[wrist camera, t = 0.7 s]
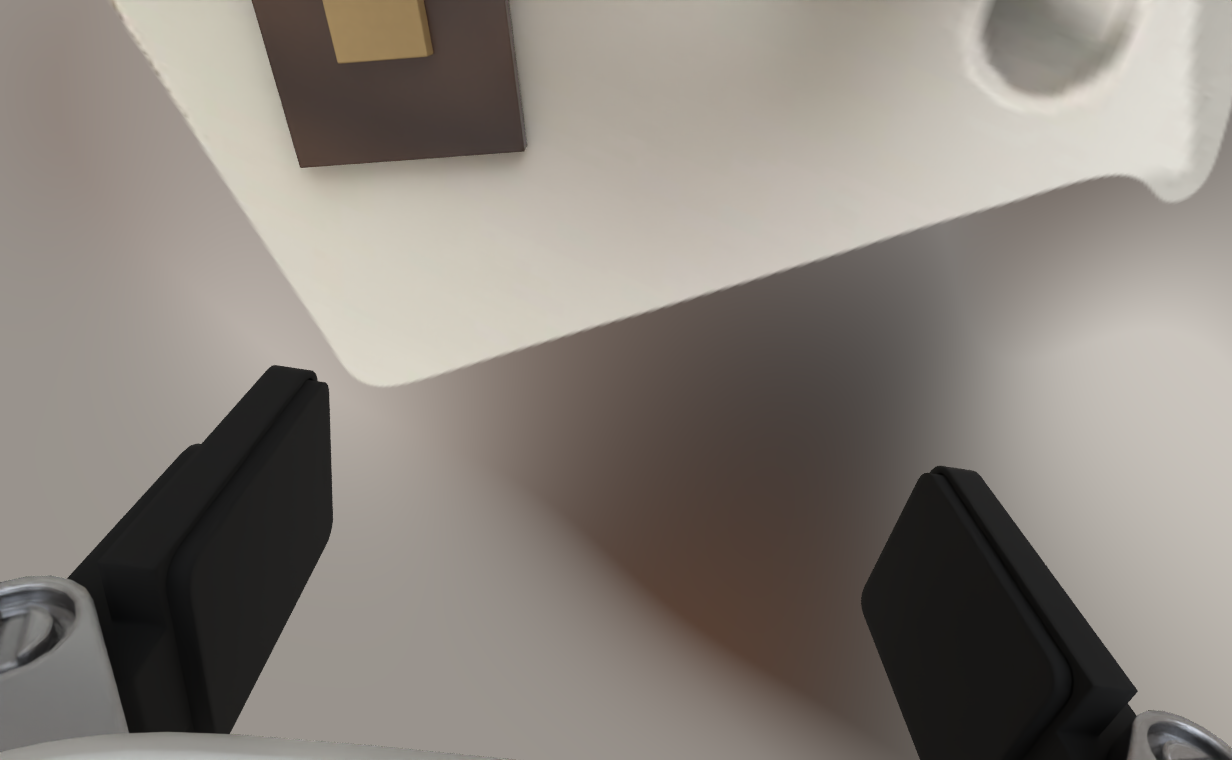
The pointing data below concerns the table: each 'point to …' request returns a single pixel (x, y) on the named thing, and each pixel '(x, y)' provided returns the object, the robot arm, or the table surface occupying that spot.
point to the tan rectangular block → (378, 29)
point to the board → (397, 87)
